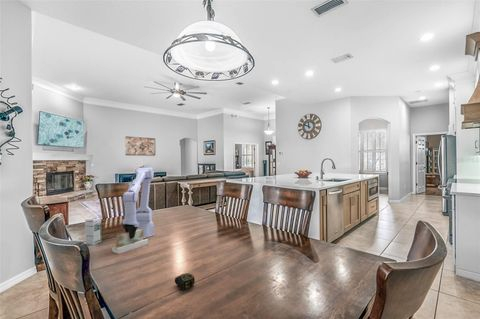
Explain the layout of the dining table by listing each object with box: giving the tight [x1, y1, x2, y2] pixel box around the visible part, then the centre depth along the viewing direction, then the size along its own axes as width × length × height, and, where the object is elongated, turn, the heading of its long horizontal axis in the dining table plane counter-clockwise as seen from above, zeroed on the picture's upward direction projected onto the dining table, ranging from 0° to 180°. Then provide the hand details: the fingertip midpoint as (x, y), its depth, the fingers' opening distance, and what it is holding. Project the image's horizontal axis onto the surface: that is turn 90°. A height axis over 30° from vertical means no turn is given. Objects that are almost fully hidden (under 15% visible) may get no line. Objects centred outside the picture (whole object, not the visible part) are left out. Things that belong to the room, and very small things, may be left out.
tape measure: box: [174, 272, 196, 291], centre depth 92 cm, size 7×7×4 cm
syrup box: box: [84, 216, 102, 246], centre depth 139 cm, size 6×6×14 cm
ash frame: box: [116, 229, 144, 248], centre depth 131 cm, size 14×3×8 cm, turn 143°
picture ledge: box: [111, 238, 149, 255], centre depth 131 cm, size 17×7×4 cm, turn 143°
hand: (130, 237), depth 131 cm, fingers closed on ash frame, 3 cm apart
